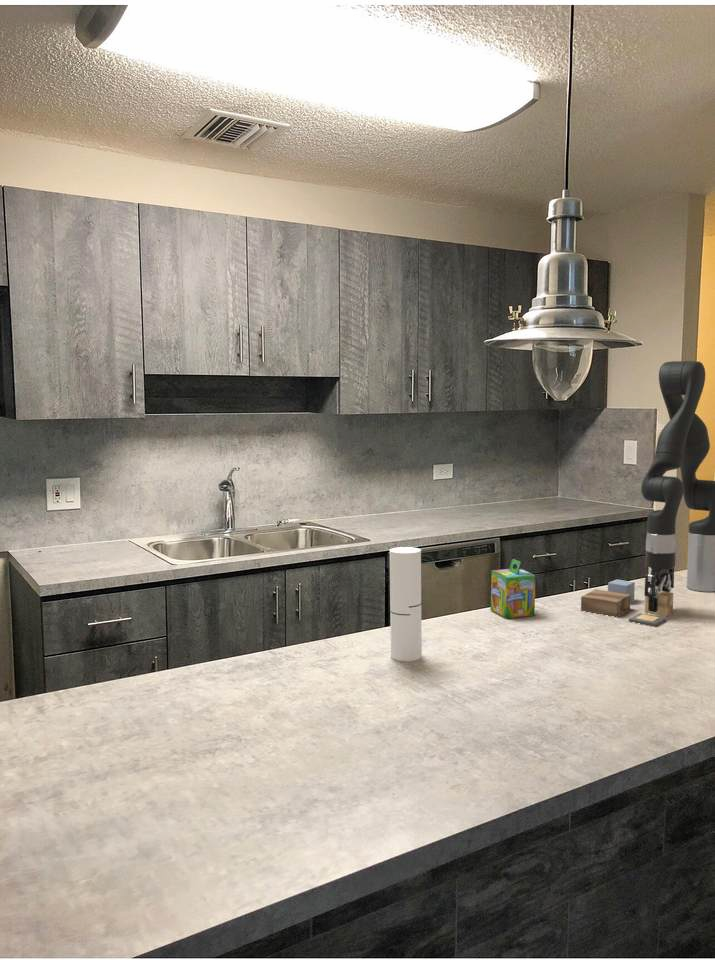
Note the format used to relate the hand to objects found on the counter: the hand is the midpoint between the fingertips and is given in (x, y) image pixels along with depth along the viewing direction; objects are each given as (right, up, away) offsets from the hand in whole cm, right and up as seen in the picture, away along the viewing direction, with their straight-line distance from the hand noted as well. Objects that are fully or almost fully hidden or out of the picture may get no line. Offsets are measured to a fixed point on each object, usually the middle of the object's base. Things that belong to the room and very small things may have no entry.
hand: (658, 608), depth 209 cm
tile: (-6, -2, -8) cm, 10 cm away
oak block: (0, -1, 0) cm, 1 cm away
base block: (-13, -1, +3) cm, 14 cm away
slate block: (-6, 0, +13) cm, 14 cm away
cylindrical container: (-71, -6, -31) cm, 78 cm away
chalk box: (-40, -2, +2) cm, 40 cm away
